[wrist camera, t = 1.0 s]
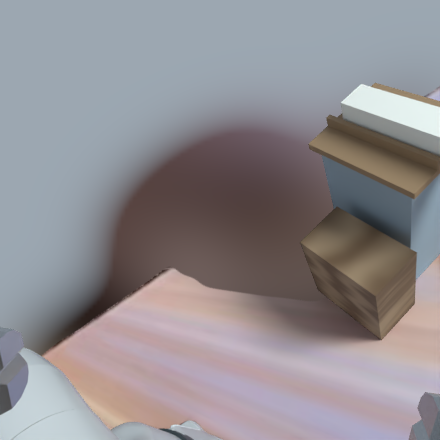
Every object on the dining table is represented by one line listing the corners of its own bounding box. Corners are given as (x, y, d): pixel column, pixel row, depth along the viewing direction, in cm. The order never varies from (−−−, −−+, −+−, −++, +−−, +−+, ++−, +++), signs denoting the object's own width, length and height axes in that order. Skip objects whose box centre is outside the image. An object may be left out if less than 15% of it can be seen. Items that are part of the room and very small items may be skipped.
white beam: (567, 177, 37) (581, 148, 34) (543, 204, 37) (556, 177, 34) (363, 108, 53) (361, 84, 50) (344, 126, 52) (340, 102, 49)
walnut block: (414, 304, 61) (416, 252, 49) (381, 340, 59) (375, 296, 47) (348, 259, 69) (336, 206, 57) (318, 290, 68) (300, 242, 56)
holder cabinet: (465, 236, 64) (493, 105, 44) (411, 294, 62) (414, 185, 41) (382, 194, 74) (374, 73, 54) (333, 243, 72) (306, 136, 52)
